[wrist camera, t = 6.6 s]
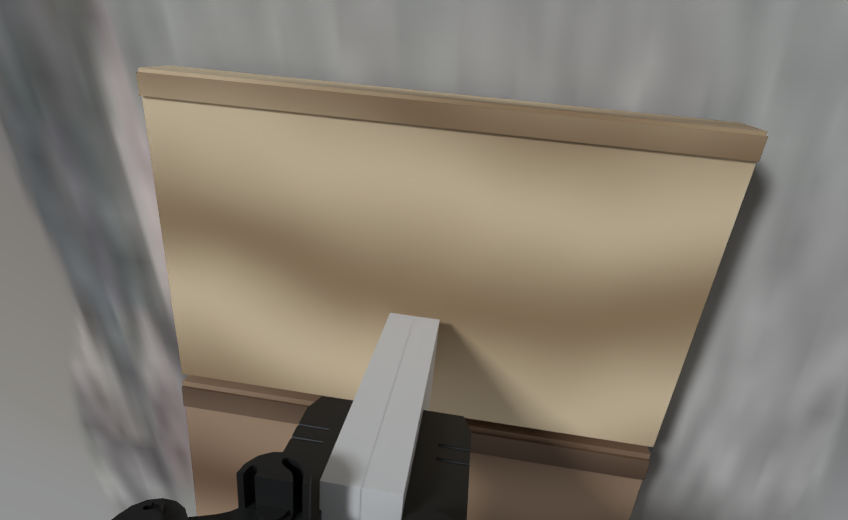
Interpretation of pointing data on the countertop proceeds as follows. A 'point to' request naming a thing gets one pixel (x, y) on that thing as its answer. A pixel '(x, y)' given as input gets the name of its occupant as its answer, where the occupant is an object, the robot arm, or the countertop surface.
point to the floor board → (489, 465)
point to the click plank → (442, 241)
